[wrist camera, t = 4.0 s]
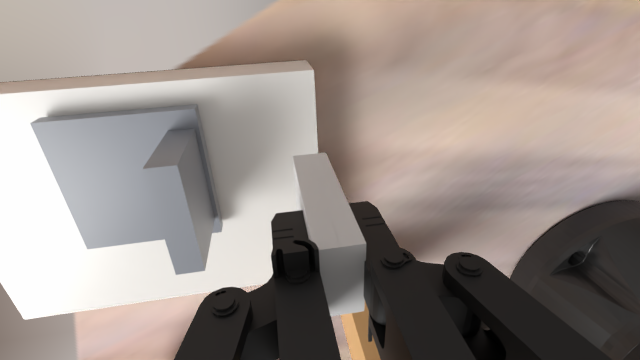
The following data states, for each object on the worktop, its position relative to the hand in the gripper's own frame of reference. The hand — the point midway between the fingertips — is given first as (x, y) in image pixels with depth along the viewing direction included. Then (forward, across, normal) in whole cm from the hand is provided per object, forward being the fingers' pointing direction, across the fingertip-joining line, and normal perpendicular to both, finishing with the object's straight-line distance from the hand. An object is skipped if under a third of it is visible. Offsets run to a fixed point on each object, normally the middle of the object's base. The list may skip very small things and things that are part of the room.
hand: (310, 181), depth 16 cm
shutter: (+3, +8, 0) cm, 9 cm away
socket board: (+6, +8, +2) cm, 10 cm away
